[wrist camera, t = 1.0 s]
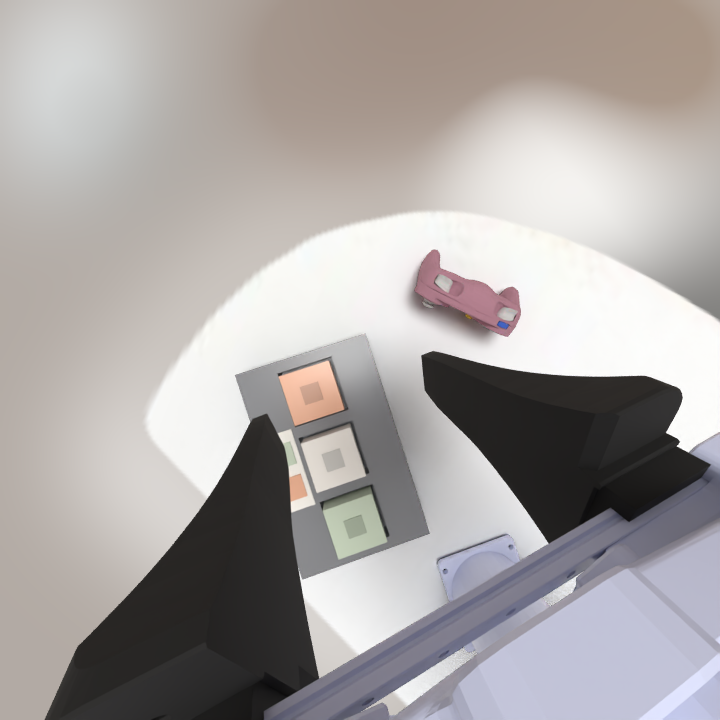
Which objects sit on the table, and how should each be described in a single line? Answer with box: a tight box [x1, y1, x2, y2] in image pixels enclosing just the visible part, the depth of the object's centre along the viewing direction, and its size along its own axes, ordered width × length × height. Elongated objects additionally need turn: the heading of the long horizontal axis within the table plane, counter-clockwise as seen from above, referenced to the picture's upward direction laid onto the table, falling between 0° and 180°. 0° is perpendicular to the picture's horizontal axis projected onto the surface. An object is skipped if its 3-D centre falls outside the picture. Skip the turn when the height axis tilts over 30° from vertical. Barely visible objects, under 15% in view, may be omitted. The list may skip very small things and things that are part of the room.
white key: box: [301, 423, 366, 493], centre depth 23 cm, size 4×4×2 cm
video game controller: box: [414, 250, 521, 337], centre depth 23 cm, size 10×5×7 cm
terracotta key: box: [279, 360, 345, 426], centre depth 22 cm, size 4×4×2 cm
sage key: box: [323, 486, 387, 560], centre depth 23 cm, size 4×4×2 cm
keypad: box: [235, 334, 430, 580], centre depth 24 cm, size 19×12×3 cm, turn 18°
